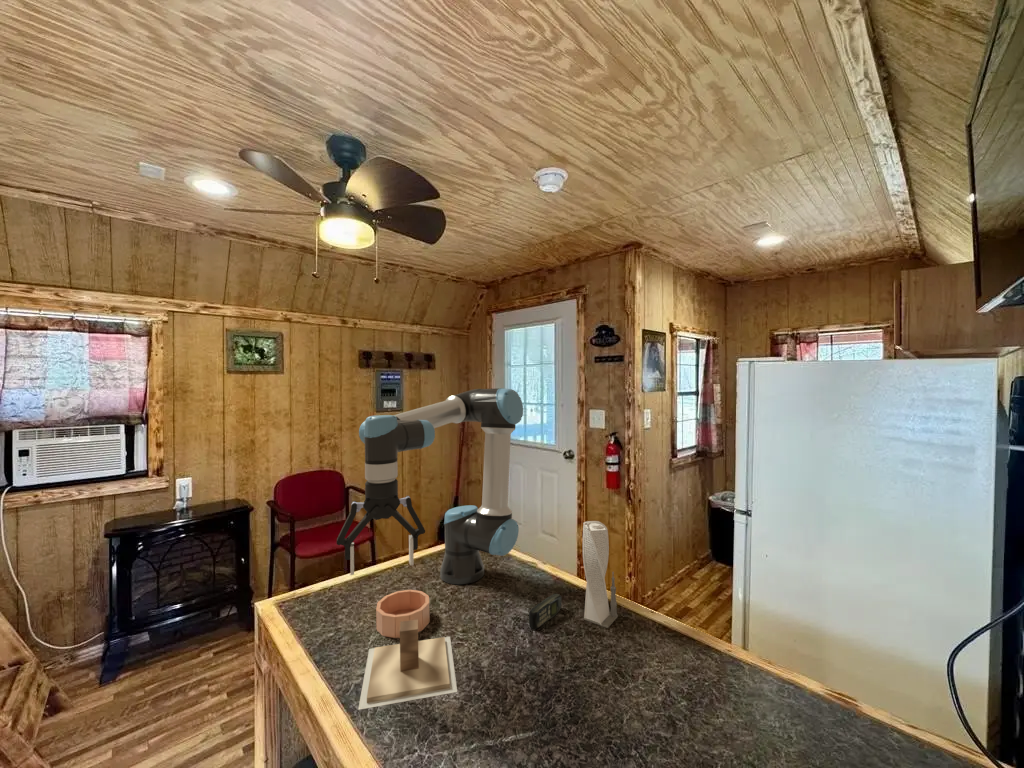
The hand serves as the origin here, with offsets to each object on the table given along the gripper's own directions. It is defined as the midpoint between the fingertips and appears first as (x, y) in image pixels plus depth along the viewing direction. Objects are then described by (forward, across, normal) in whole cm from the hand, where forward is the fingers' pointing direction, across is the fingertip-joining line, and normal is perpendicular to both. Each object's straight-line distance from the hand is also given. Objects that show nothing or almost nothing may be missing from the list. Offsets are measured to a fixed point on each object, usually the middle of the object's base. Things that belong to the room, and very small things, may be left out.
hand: (382, 567), depth 100 cm
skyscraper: (+22, -57, +4) cm, 61 cm away
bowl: (+22, -6, -14) cm, 27 cm away
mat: (+22, -6, +6) cm, 24 cm away
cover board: (+22, -6, +6) cm, 23 cm away
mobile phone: (+22, -44, -2) cm, 50 cm away
